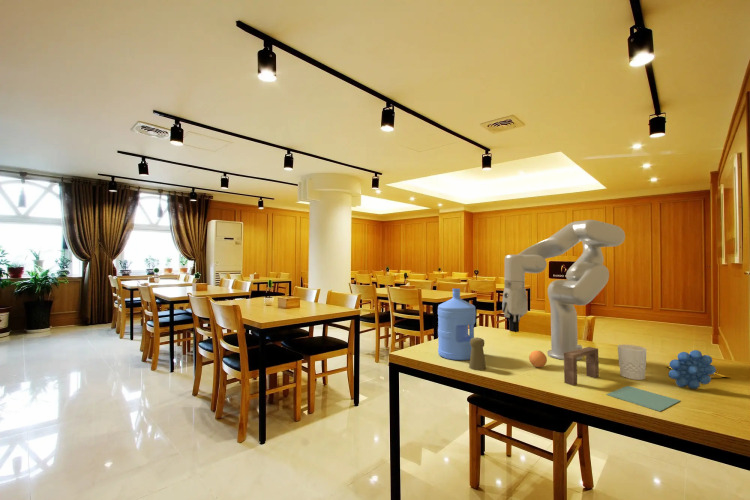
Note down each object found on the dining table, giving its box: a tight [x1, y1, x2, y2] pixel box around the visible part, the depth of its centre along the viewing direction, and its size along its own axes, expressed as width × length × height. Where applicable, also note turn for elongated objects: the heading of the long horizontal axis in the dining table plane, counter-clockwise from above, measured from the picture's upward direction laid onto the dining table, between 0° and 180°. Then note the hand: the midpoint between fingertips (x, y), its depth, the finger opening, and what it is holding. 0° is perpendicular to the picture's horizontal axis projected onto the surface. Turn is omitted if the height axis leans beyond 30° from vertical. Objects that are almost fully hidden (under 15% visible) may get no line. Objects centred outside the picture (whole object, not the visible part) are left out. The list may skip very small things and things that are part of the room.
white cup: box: [617, 344, 647, 381], centre depth 116 cm, size 8×8×10 cm
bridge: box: [563, 346, 600, 386], centre depth 113 cm, size 3×15×10 cm, turn 120°
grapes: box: [668, 349, 717, 390], centre depth 106 cm, size 12×7×12 cm, turn 71°
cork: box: [468, 337, 487, 371], centre depth 126 cm, size 6×6×11 cm
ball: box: [528, 350, 548, 368], centre depth 127 cm, size 6×6×6 cm
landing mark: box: [606, 385, 681, 412], centre depth 98 cm, size 13×13×1 cm
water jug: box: [437, 288, 477, 361], centre depth 143 cm, size 16×16×28 cm
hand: (514, 331), depth 135 cm, fingers closed
